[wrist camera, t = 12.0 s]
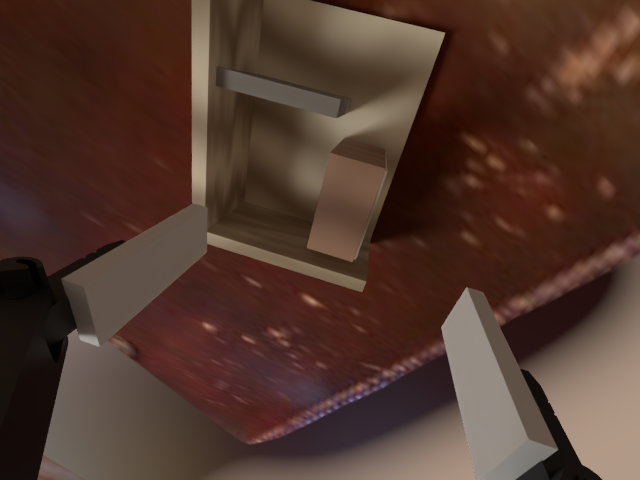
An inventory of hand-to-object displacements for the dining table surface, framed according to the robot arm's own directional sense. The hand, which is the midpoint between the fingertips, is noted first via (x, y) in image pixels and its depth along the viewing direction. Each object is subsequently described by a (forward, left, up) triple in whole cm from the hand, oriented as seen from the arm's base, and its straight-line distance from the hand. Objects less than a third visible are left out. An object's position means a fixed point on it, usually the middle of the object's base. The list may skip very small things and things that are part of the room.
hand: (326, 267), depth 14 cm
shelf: (-3, -5, -17) cm, 18 cm away
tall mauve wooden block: (0, 0, -16) cm, 16 cm away
